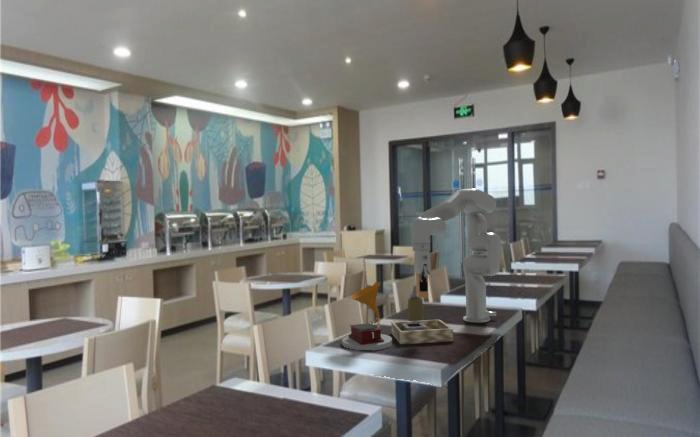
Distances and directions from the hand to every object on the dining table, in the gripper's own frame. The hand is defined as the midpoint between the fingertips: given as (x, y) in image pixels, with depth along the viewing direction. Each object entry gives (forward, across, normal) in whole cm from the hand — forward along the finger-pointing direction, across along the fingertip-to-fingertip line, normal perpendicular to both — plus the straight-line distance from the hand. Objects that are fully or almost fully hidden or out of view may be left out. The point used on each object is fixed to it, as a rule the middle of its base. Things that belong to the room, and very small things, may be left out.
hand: (422, 290), depth 207 cm
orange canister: (+3, 0, 0) cm, 3 cm away
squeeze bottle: (+20, +25, -4) cm, 32 cm away
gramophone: (+21, -4, +25) cm, 33 cm away
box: (+20, 0, +1) cm, 20 cm away
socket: (+20, 0, +4) cm, 20 cm away
